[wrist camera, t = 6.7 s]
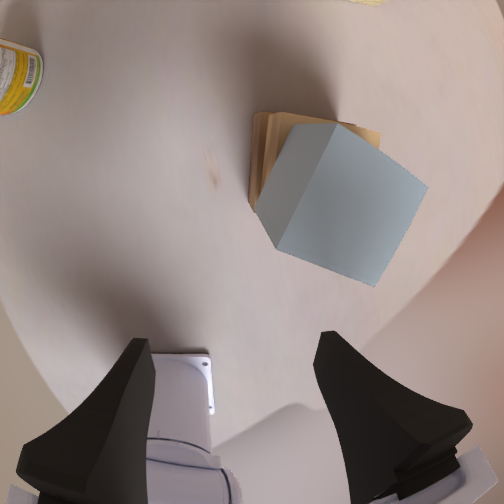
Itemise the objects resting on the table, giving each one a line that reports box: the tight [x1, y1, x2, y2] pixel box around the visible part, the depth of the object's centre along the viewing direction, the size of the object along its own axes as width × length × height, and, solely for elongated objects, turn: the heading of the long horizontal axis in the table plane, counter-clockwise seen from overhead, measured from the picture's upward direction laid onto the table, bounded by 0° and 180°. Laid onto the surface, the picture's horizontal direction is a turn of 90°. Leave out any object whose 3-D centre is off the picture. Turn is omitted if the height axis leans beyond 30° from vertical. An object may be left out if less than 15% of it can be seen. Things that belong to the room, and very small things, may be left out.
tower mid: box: [260, 112, 381, 194], centre depth 15 cm, size 6×6×3 cm
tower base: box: [248, 112, 356, 213], centre depth 18 cm, size 6×6×3 cm
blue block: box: [254, 123, 428, 287], centre depth 11 cm, size 4×4×5 cm
